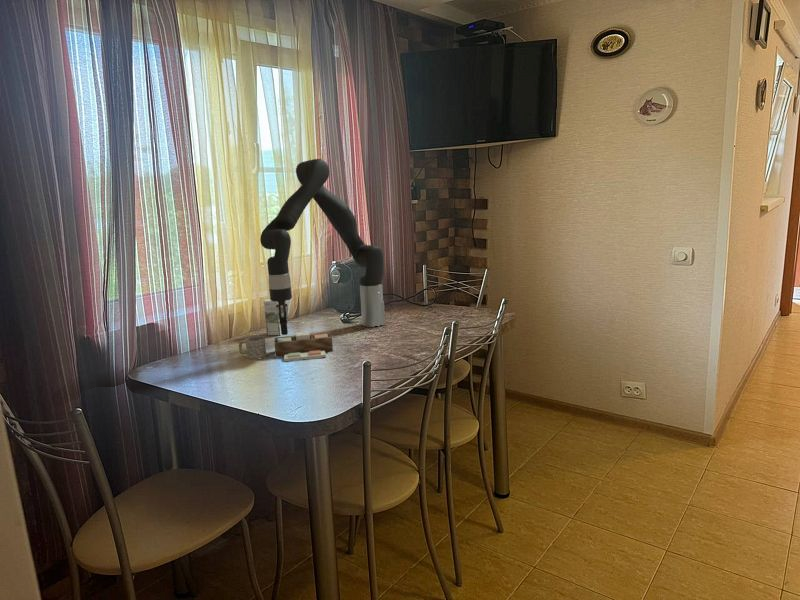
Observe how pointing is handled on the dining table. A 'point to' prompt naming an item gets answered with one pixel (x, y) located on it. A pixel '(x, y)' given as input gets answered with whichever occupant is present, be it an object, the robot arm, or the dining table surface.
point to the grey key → (302, 335)
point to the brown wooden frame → (303, 345)
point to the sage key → (284, 339)
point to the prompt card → (304, 355)
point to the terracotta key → (321, 336)
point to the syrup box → (271, 318)
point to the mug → (254, 347)
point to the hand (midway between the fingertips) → (284, 334)
